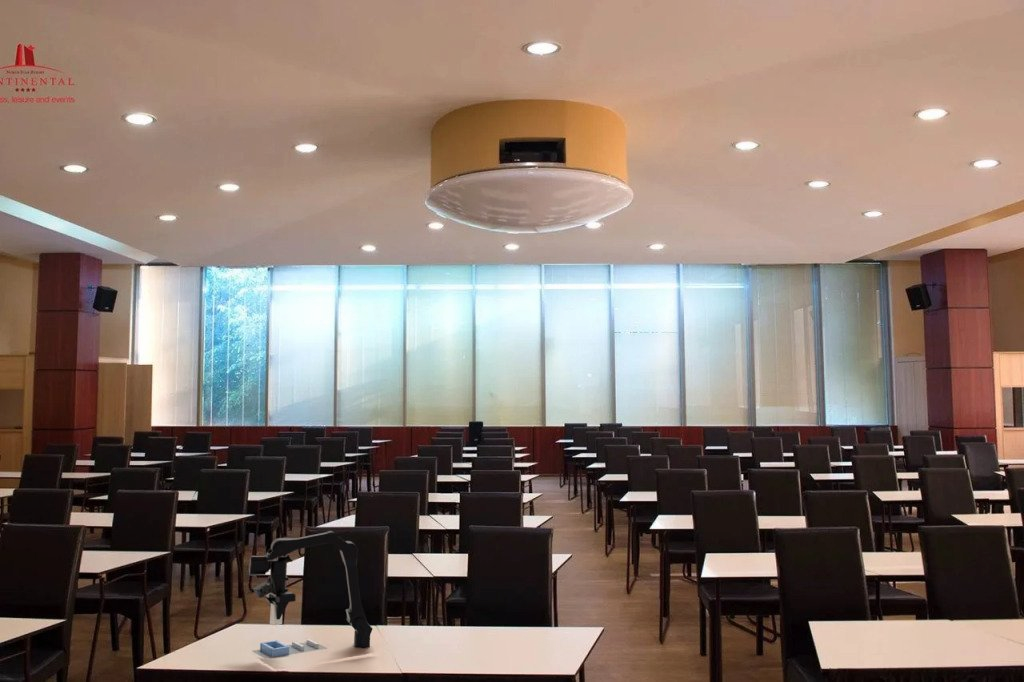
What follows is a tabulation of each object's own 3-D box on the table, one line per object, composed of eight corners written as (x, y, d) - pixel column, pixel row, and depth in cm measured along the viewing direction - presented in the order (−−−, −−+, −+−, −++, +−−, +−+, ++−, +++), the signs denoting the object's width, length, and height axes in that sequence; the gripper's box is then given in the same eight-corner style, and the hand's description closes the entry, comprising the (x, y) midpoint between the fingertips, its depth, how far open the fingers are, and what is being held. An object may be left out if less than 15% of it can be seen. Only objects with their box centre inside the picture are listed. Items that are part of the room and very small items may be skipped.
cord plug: (281, 624, 306) (283, 601, 307) (273, 625, 304) (274, 602, 305) (278, 622, 309) (279, 600, 310) (269, 623, 307) (270, 600, 308)
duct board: (327, 650, 312) (327, 641, 313) (265, 661, 297) (265, 651, 297) (312, 643, 321) (313, 634, 322) (251, 653, 306) (252, 643, 307)
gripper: (246, 572, 310) (244, 616, 309) (267, 580, 296) (265, 626, 295) (275, 569, 317) (273, 612, 316) (297, 577, 303) (295, 622, 302)
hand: (276, 618), depth 307 cm, fingers closed on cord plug, 3 cm apart
